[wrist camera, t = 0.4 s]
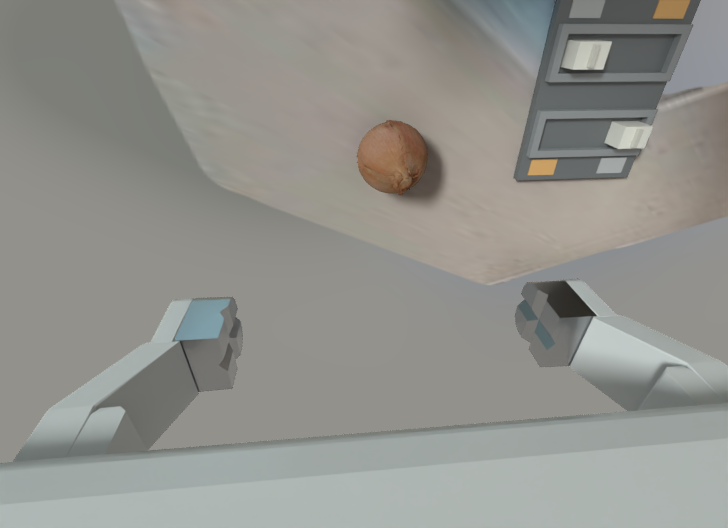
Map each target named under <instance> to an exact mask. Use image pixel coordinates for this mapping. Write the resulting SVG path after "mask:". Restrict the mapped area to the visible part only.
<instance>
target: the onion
mask: <svg viewBox="0 0 728 528" xmlns="http://www.w3.org/2000/svg"><path fill="white" fill-rule="evenodd" d="M427 155H428V153H427V147H426V145H425V142H424V140H423V138H422V136H421V135H420V133H419V132H418V131H417V130H416V129H415V128H413V127H412V126H410V125H408V124H406V123H403V122H401V121H391V120H387V121H386V122H385V123H382V124H379V125H377V126H375V127H374V128H373V129H371V130H370V131H369V132H368V133H367V134H366V135H365V136H364V138H363V139H362V141H361V143H360V145H359V149H358V152H357V157H358V161H357V163H358V168H359V171H360V173H361V175H362V177H363V178H364V180H365V181H366V182H367V183H368V184H369V185H370V186H372V187H373V188H375V189H376V190H378V191H381V192H385V193H399V194H398V195H401V194H403V192H405V191H407V190H408V189H409V190H410V188H411V187H413V186H414V185H415V184H416V183H417V182H418V181H419V180H420V178H421V177H422V175H423V173H424V171H425V168H426V163H427Z"/></svg>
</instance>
